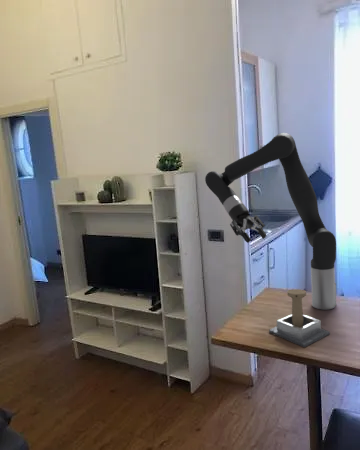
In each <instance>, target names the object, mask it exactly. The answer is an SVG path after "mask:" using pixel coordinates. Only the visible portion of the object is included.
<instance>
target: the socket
mask: <svg viewBox="0 0 360 450" xmlns="http://www.w3.org/2000/svg"><path fill="white" fill-rule="evenodd" d="M321 324H322V323H321V319H318V318H315V317H312V316H310V315H306V314H304V313H303V327H301V328H299V327H297V326H294V325H293V322H292V313H291V314H289V315H286V316H284V317H282V318H279V319H277V320H276V326H274V327H271V328H270V329H268V330H269V331H268V332H269V333H270V334H273V335H275V336H277V337H279V338H282V339H284V340H286V341H289V342H290V343H293V344H295V345H298V346H300V347H303V348H306V347H308V346H310V345H312V344H314V343H315V342H317V341H318V342H319V340H321V339H324V338H325V337H328V336H329V335H330V334H331V333H330V331H329V330H326V329H324V328H321V327H322V325H321Z"/></svg>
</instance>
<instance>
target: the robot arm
mask: <svg viewBox="0 0 360 450" xmlns="http://www.w3.org/2000/svg"><path fill="white" fill-rule="evenodd" d="M277 160H279V162H280V164H281V166H282V168H283V169H282V170H283V171H284V172H283V173H284V176H285V181H286V182H285V183H286V186H287V190H288V193H289V196H290V198H291V201H292V203H293V204H294V207H295V209H296V212H297V213H298V216H299V217H300V219H301V221H302V224H303V226H304V231H305V233H306V238H307V241H308V243H309V245H310V246H311V247H312V259H311V260H310V281H311V307H313V308H315V309H317V310H325V311H326V310H327V311H328V310H332V309H334V308H336V305H337V283H336V282H335V281H336V278H335V277H336V275H335V263H336V259H337V241H336V236H335V234H334V233H333V232H332V231H330V230H328V229H327V228H326V226H325V224H324V221H323V220H322V218H321V216H320V212H319V205H318V198H317V195H316V192H315V190H314V187H313V184H312V183H311V181H310V179H309V175H308V174H307V172H306V170H305V168H304V166H303V164H302V162H301V158H300V156H299V152H298V149H297V145H296V141H295V138H294V137H293V136H292V135H291V134H289V133H286V132H280V133H278V134H277V135H275V136H274V137H273V138H272V139H271V140H270V141H269V142H267V143H266V144H265V145H264V146H263V147H261V148H259V149H257V150H256V151H254V152H252V153H250V154H247V155H245V156H243V157H241V158H238V159H237V160H235V161H233V162H231V163H230V164H228V165H226V166H225V168H224V171H223V172H222V173H219V172H217V171H214V170H213V171H209V172H208V173H207V174H206V175H205V178H204V179H205V180H204V181H205V184H206V186H207V187H208V189H209V190H210V191H211V192H212V193H213V194H214V195H215V196H216V197H217V199H218V200H219V202H220V204H221V205H222V206H223V208H224V210H225V212H226V213H227V215H228V216H229V217H230V219H231V220H232V221H231V223H230V224H229V226H230V227H231V229H232V231H233V232H234V234H235V236H240V237H242V239H243V240H244V241H245V242H246V243H247V244H249V243H250V242H251V241H252V239H251V237H250V236H249V234H248V233H247V232H246V230H250V229H251V230H255V231H257V233H258V234H259V236H260V237H261V239H262V240H265V238H266V237H267V233H266V232H265V231H264V227H265V226H266V225H265V223H263V221H262V220H261V218H260V217H259V216H258V215H257V214H256V215H254V216H253V217H252V216H251V215H250V211H249V209H248V208H247V207H246V206H245V204H244V203H243V201H242V200H241V199H240V198H239V196H238V195H237V194H236V193H235V192H234V189H232V188H231V187H230V185H231V184H232V183H234V182H235V180H238V179H240V178H241V177H244V176H246V175H247V174H249V173H252V172H253V171H254V170H256V169H258V168H260V167H263V166H264V165H266V164H269V163H271V162H274V161H277Z"/></svg>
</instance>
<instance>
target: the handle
mask: <svg viewBox="0 0 360 450" xmlns="http://www.w3.org/2000/svg"><path fill="white" fill-rule="evenodd" d="M286 292H287V296H288V297H289V298H291V302H292V303H291V314H292V322H293V325H294V326H297V327H299V328H301V327H303V314H304V310H303V298H305V297H306V296H307V291H306V290H304V289H299V288H298V289H294V288H293V289H288V290H287V291H286Z"/></svg>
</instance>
